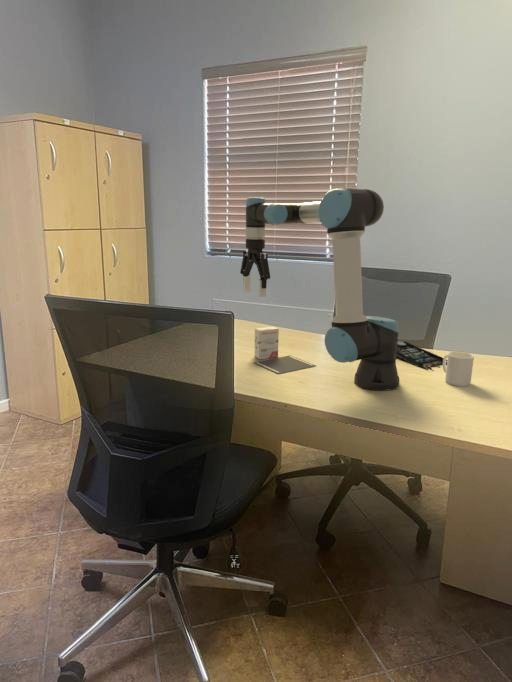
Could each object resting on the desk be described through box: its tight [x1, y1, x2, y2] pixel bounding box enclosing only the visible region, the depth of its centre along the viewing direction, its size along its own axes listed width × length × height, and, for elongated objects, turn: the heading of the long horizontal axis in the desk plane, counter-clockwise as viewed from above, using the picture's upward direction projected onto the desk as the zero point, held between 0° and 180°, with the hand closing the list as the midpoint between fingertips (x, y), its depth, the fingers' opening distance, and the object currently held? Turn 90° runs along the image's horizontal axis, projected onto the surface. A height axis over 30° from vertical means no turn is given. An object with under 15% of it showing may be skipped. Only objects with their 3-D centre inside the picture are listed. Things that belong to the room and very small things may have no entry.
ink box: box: [254, 326, 280, 360], centre depth 208 cm, size 9×5×12 cm, turn 115°
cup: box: [442, 351, 475, 388], centre depth 182 cm, size 8×12×10 cm
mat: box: [252, 355, 317, 375], centre depth 200 cm, size 16×18×1 cm
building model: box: [396, 340, 448, 372], centre depth 208 cm, size 14×7×30 cm
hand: (254, 294), depth 210 cm, fingers open, 10 cm apart
